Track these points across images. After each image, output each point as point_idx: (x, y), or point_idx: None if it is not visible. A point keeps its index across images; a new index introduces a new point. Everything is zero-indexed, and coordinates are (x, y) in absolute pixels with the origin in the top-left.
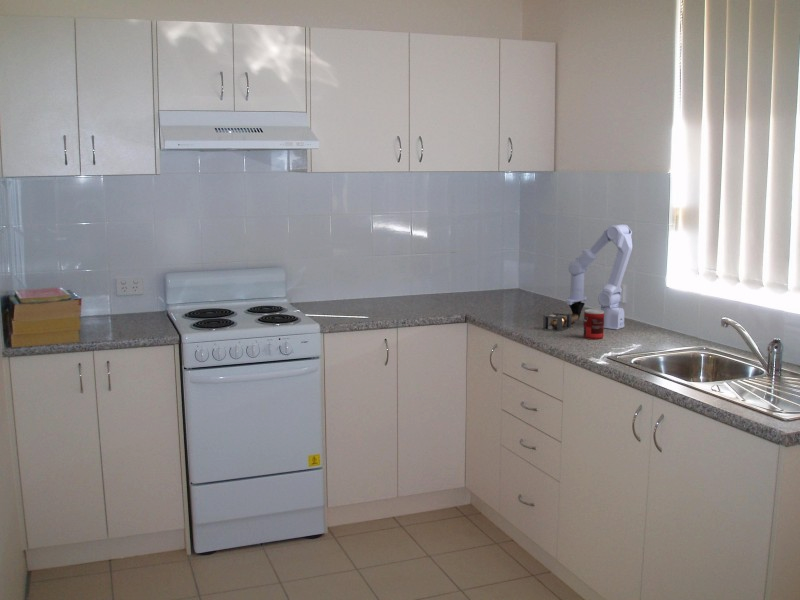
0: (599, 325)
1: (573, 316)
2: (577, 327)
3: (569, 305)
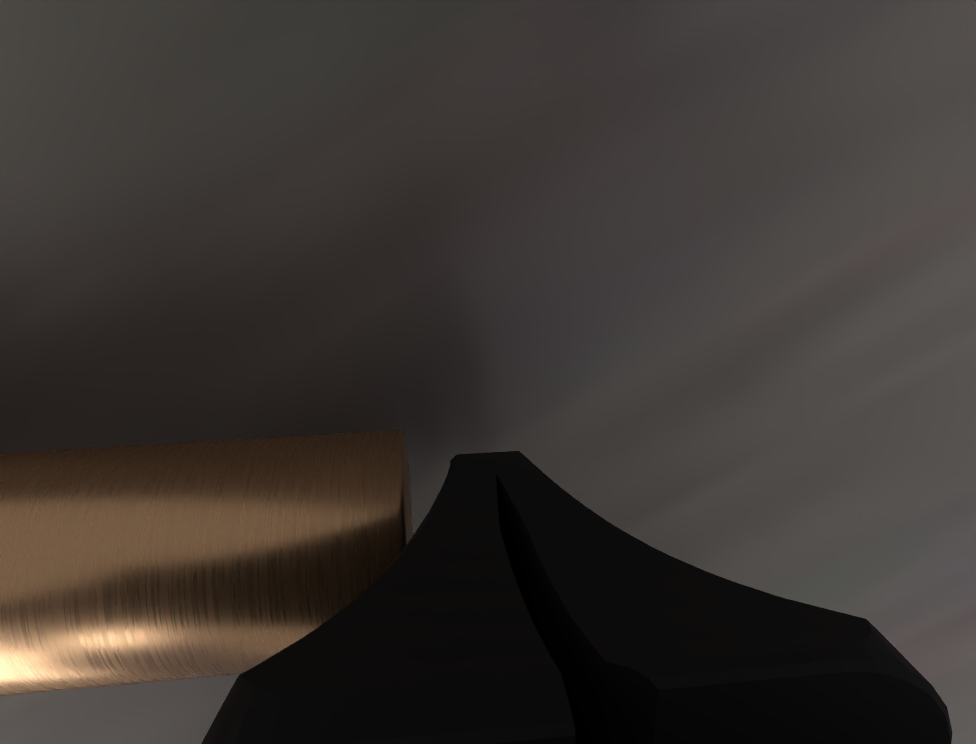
0: None
1: (153, 678)
2: (65, 714)
3: (247, 689)
